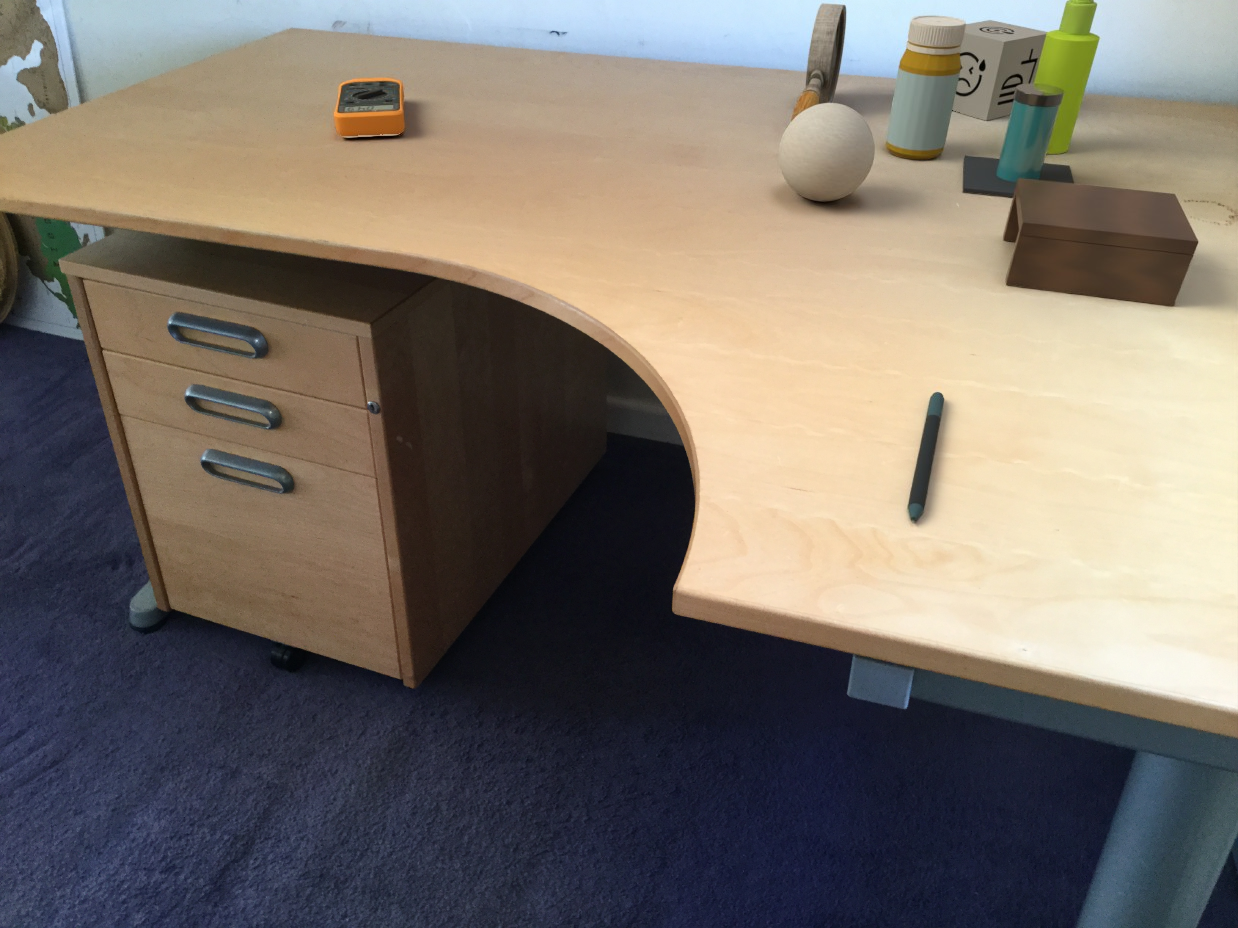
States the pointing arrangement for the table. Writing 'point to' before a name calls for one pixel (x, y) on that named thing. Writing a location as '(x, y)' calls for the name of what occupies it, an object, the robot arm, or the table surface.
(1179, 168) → the table surface
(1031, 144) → the spice jar
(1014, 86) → the icon cube
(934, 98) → the bottle
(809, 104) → the magnifying glass
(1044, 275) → the wooden box
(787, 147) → the ball
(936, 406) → the pen
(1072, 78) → the soap dispenser
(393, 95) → the multimeter
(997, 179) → the mat
